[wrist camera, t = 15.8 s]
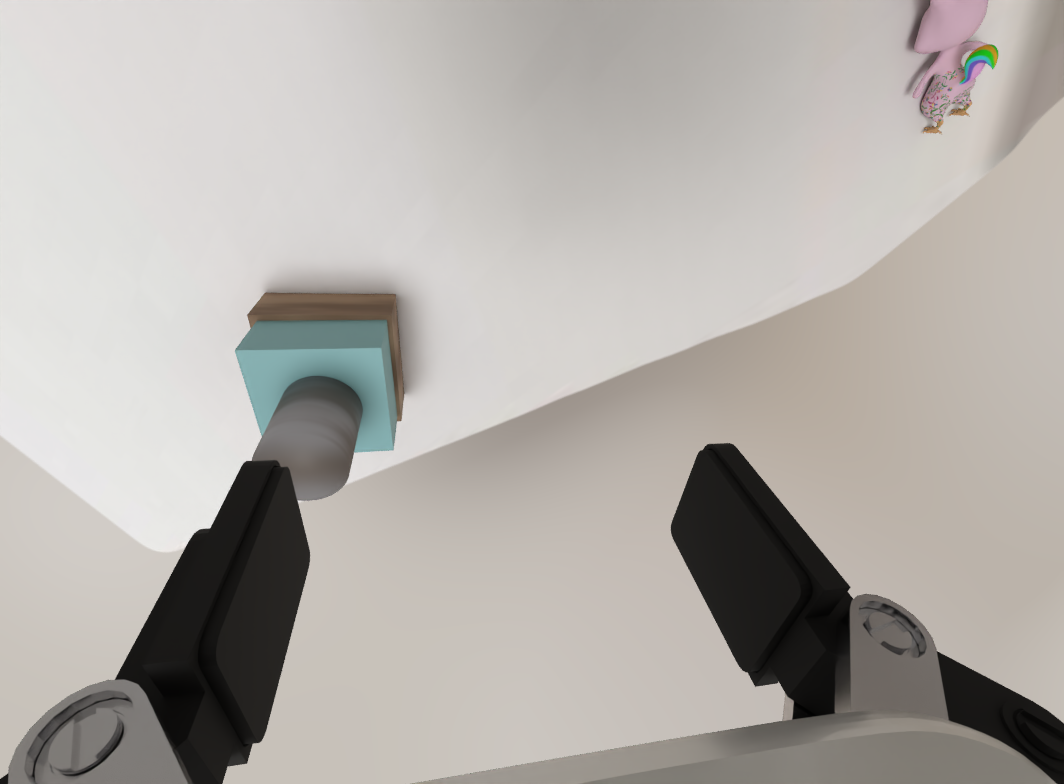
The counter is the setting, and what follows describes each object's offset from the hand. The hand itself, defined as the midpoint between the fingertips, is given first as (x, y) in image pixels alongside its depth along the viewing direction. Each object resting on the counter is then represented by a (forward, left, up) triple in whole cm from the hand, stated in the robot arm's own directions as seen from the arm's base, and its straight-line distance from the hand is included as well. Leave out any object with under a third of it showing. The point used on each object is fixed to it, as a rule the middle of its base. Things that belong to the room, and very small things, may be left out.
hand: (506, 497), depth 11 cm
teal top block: (+14, -11, -30) cm, 35 cm away
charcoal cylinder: (+15, -11, -25) cm, 31 cm away
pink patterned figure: (-15, +39, -35) cm, 54 cm away
